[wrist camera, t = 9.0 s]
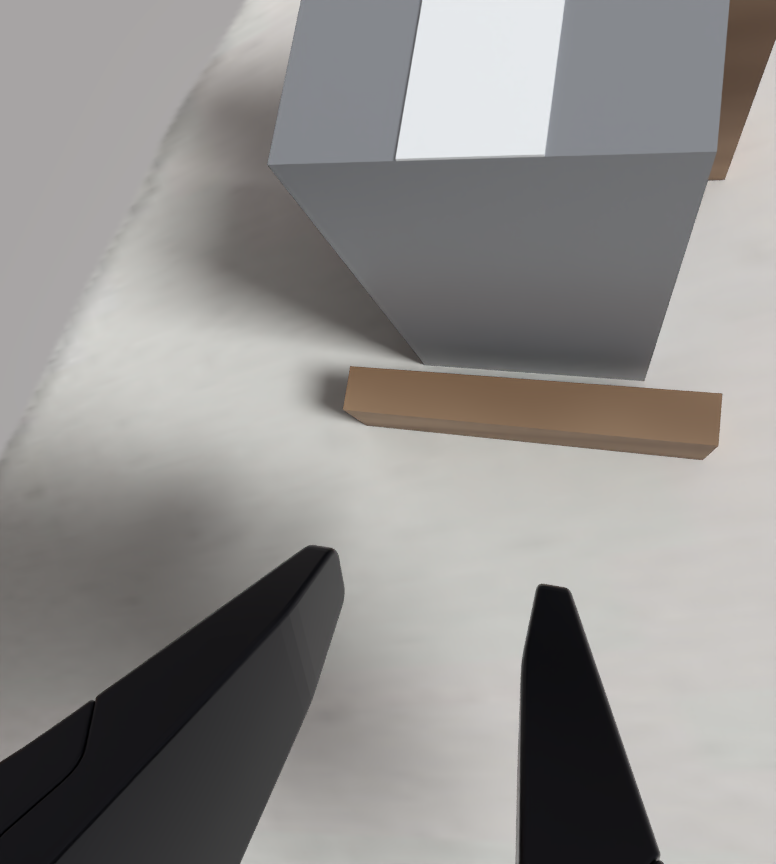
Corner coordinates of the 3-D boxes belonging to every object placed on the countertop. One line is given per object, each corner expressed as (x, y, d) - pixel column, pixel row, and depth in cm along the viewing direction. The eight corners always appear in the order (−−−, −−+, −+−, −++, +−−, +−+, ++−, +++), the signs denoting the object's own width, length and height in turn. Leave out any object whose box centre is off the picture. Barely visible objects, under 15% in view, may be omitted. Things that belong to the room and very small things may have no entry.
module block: (644, 381, 17) (717, 148, 8) (424, 364, 19) (265, 162, 9) (661, 206, 18) (746, -199, 8) (449, 207, 20) (324, -124, 10)
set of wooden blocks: (702, 460, 16) (866, 311, 7) (366, 425, 19) (154, 286, 10) (730, 112, 18) (894, -398, 8) (415, 127, 21) (273, -244, 11)
